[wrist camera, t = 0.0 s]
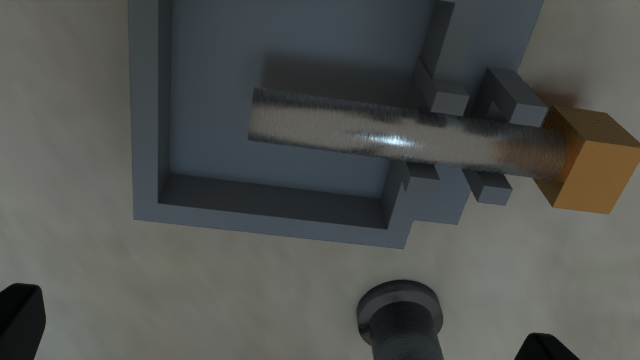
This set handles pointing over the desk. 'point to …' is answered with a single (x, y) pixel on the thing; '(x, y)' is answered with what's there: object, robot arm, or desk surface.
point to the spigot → (401, 321)
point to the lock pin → (462, 142)
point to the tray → (320, 80)
